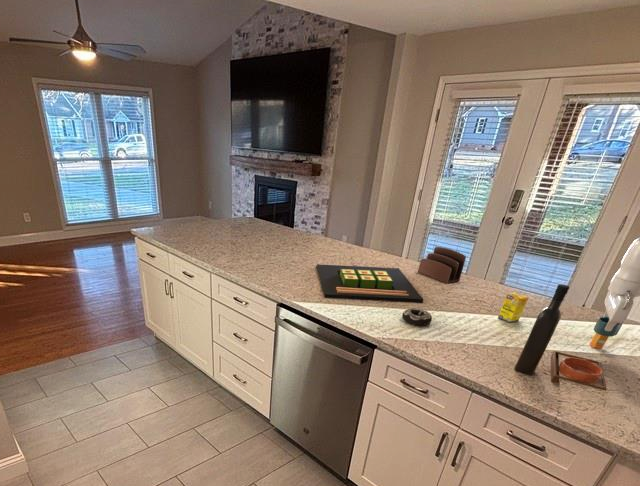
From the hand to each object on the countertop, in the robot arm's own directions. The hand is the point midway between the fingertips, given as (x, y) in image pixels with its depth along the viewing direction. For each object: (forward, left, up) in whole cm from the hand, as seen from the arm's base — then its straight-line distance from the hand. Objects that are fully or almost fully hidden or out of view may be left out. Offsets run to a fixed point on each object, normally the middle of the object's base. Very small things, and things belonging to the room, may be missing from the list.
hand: (606, 326), depth 141 cm
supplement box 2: (-4, -15, -14) cm, 21 cm away
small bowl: (0, 0, -3) cm, 3 cm away
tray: (+4, +15, -14) cm, 21 cm away
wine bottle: (+19, +22, -14) cm, 32 cm away
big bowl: (+4, +18, -14) cm, 23 cm away
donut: (+60, +3, -14) cm, 62 cm away
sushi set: (+93, -29, -14) cm, 99 cm away
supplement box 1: (+27, -23, -14) cm, 38 cm away
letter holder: (+64, -64, -14) cm, 92 cm away
